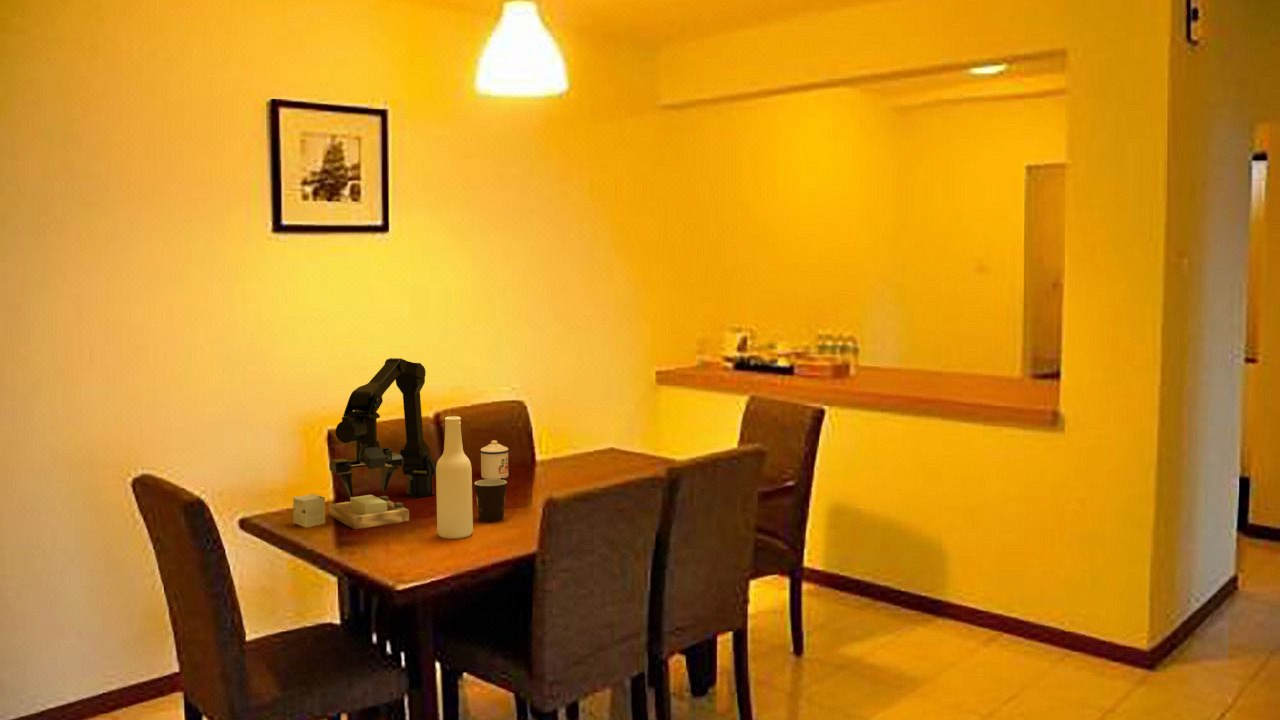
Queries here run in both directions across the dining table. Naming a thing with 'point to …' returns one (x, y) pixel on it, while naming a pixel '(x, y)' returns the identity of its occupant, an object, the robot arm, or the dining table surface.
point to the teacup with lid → (494, 461)
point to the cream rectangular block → (367, 505)
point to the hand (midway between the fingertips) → (367, 494)
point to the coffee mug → (490, 499)
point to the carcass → (369, 515)
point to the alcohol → (454, 485)
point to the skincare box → (309, 510)
